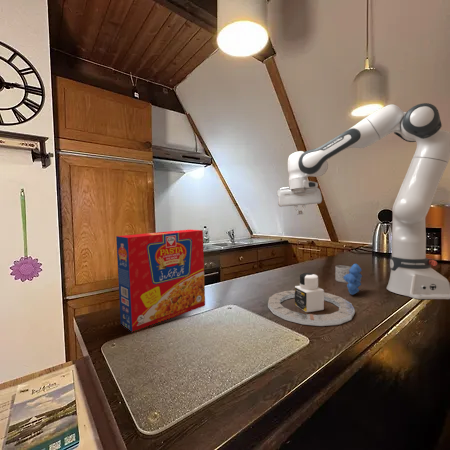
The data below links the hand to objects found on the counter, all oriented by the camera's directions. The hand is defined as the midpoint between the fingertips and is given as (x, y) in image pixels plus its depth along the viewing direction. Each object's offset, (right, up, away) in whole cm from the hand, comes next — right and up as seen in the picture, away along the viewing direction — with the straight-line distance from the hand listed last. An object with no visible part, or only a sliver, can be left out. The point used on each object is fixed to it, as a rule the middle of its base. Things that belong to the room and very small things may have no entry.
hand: (300, 214), depth 121 cm
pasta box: (-57, -36, -35) cm, 76 cm away
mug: (+20, -32, 0) cm, 38 cm away
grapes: (+15, -33, -19) cm, 41 cm away
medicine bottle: (-7, -34, -33) cm, 48 cm away
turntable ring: (-7, -34, -33) cm, 48 cm away
